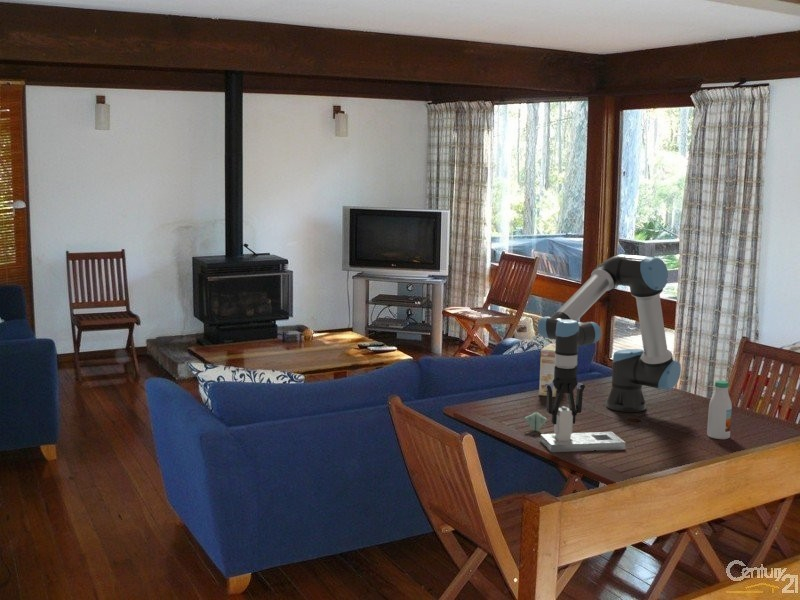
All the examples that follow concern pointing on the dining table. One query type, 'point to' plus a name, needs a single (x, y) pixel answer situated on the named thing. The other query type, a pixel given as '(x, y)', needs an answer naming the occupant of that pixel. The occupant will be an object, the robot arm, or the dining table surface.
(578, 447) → the panel
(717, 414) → the milk bottle
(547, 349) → the coffeecake box
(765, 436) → the dining table surface
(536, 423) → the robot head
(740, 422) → the dining table surface
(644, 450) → the dining table surface
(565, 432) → the plug
